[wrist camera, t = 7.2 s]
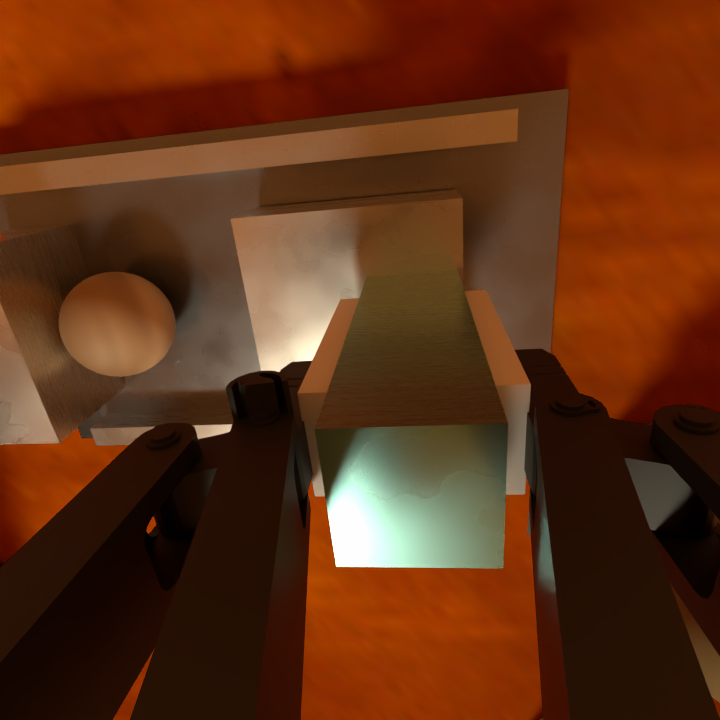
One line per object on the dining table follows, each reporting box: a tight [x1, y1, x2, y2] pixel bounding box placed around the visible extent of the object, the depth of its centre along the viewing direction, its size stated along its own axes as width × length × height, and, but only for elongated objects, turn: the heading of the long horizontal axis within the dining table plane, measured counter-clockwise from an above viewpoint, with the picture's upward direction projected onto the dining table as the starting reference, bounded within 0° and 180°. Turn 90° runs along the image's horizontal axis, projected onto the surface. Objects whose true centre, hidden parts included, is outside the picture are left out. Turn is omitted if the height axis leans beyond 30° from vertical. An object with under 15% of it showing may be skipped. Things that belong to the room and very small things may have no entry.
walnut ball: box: [59, 272, 176, 377], centre depth 20 cm, size 4×4×4 cm
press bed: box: [0, 89, 569, 446], centre depth 20 cm, size 24×14×6 cm, turn 95°
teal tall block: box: [231, 189, 508, 568], centre depth 15 cm, size 8×8×13 cm
